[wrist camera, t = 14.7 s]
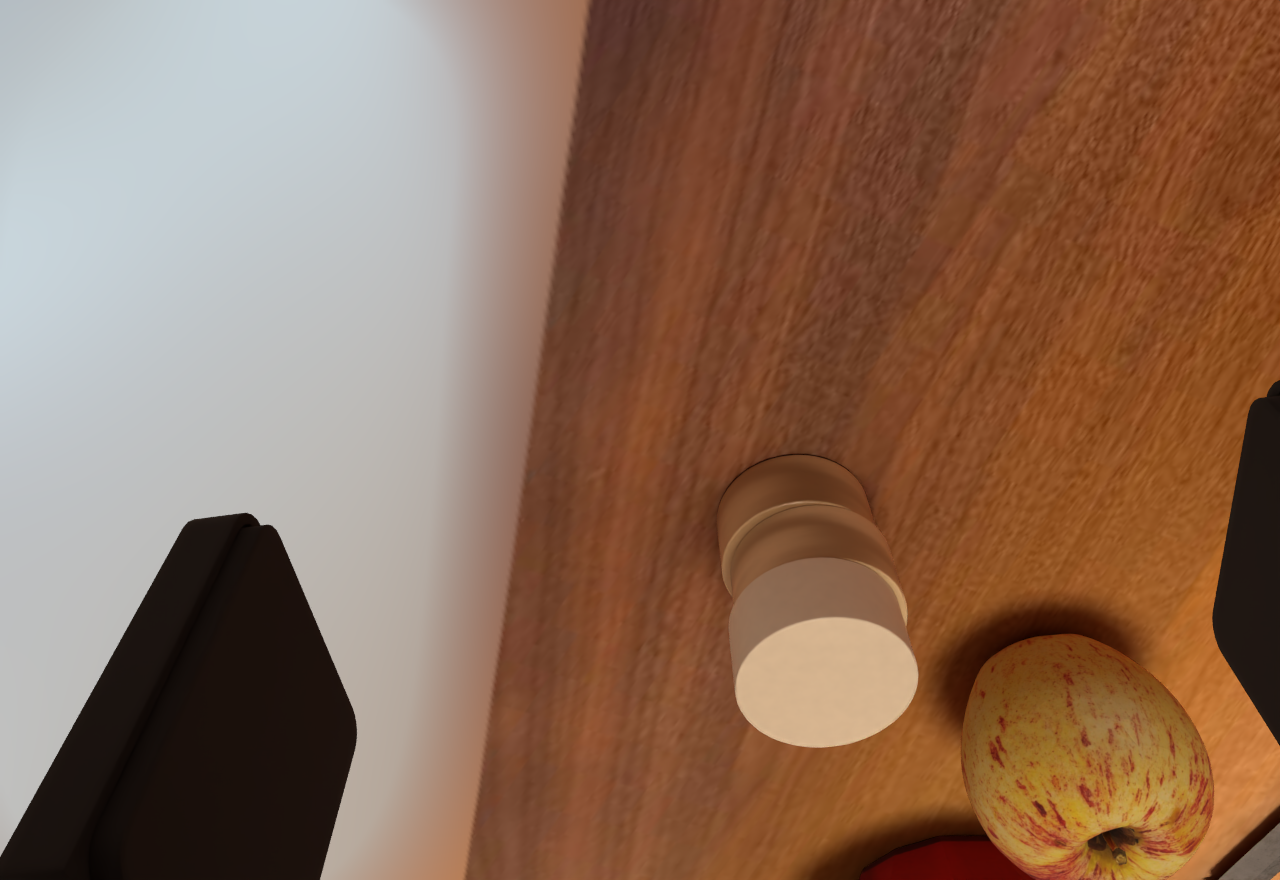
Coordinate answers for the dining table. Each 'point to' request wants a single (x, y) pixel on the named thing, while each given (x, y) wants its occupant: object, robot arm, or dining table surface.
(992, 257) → the dining table surface
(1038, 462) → the dining table surface
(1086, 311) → the dining table surface
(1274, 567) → the robot arm
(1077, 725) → the apple
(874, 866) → the bottle
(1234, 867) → the knife
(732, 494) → the chip pile
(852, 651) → the wooden chip
